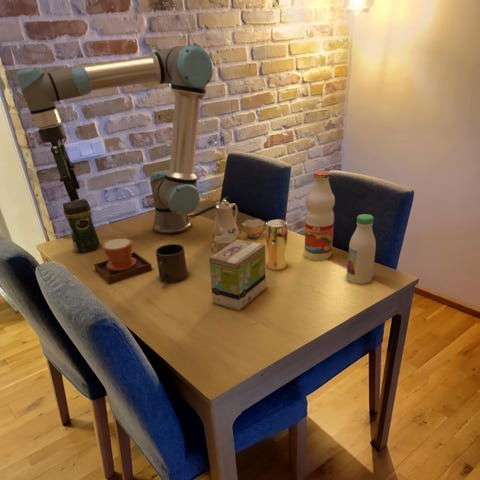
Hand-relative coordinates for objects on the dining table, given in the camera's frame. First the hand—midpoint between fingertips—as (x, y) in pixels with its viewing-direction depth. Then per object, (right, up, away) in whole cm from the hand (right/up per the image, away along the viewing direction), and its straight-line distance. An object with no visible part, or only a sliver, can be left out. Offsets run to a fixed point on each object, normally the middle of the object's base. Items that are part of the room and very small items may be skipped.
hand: (75, 194), depth 144 cm
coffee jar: (-4, -14, +24) cm, 28 cm away
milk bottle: (+91, -29, -9) cm, 96 cm away
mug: (+32, -28, -2) cm, 43 cm away
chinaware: (+52, -12, +21) cm, 57 cm away
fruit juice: (+82, -19, +7) cm, 84 cm away
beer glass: (+67, -24, +2) cm, 71 cm away
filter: (+14, -24, +5) cm, 28 cm away
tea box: (+54, -34, -14) cm, 66 cm away
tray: (+14, -24, +6) cm, 29 cm away
